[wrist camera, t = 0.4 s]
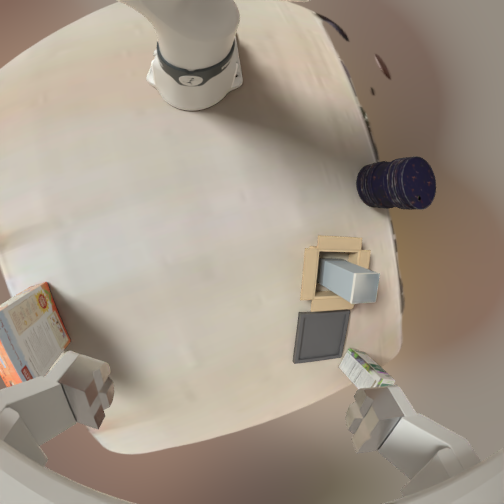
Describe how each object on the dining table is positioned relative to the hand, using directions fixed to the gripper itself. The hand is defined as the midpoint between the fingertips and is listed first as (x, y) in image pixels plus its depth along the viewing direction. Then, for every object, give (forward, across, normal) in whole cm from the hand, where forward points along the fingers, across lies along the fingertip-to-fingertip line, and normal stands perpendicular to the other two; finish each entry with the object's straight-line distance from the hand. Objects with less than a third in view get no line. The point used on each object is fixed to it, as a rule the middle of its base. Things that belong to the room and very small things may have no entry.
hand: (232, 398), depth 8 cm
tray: (+45, -20, +25) cm, 55 cm away
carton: (+47, -19, +10) cm, 52 cm away
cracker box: (+35, +39, +24) cm, 58 cm away
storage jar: (+51, -28, -9) cm, 59 cm away
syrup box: (+46, -31, +32) cm, 64 cm away
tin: (+47, -19, +10) cm, 52 cm away
